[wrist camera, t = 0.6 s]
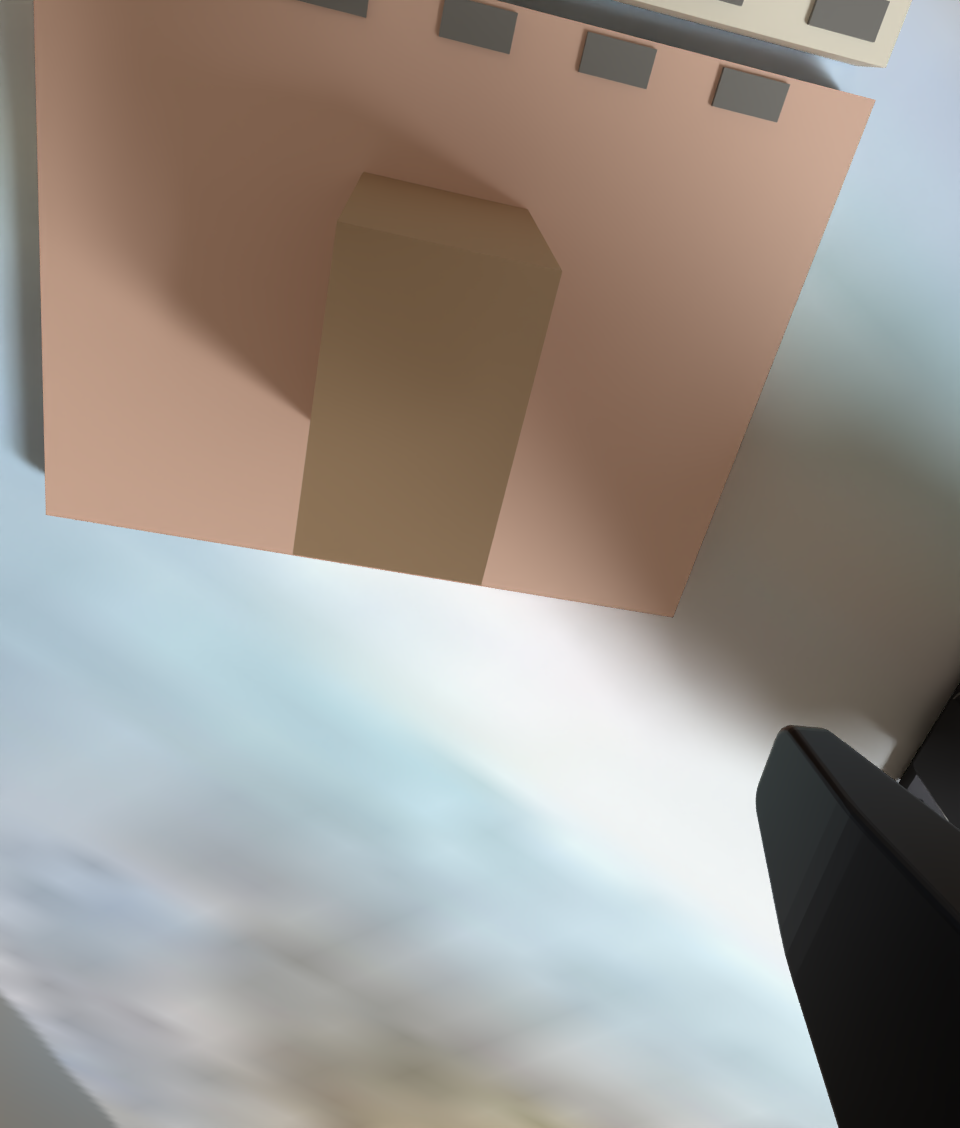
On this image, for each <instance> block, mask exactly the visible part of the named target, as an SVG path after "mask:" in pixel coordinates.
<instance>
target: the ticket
mask: <svg viewBox="0 0 960 1128" xmlns="http://www.w3.org/2000/svg"><path fill="white" fill-rule="evenodd" d="M613 1H617V2H621V3H624V4H628V5H632V6H636V7H639V8H643V9H647V10H650V11H654V12H658V13H662V14H665V15H669V16H673V17H676V18H680V19H684V20H688V21H691V22H695V23H699V24H702V25H706V26H710V27H714V28H717V29H721V30H725V31H729V32H732V33H736V34H740V35H743V36H747V37H751V38H755V39H758V40H762V41H766V42H769V43H773V44H777V45H781V46H784V47H788V48H792V49H795V50H799V51H803V52H807V53H810V54H814V55H818V56H822V57H825V58H829V59H833V60H836V61H840V62H844V63H848V64H851V65H855V66H864V67H880V68H886V66H887V63H888V61H889V58H890V55H891V53H892V50H893V48H894V45H895V43H896V40H897V37H898V35H899V32H900V30H901V27H902V25H903V22H904V20H905V17H906V14H907V12H908V9H909V7H910V4H911V2H912V0H613Z"/></svg>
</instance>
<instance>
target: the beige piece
mask: <svg viewBox="0 0 960 1128" xmlns="http://www.w3.org/2000/svg"><path fill="white" fill-rule="evenodd" d="M33 1H34V42H35V83H36V124H37V166H38V207H39V248H40V289H41V331H42V372H43V413H44V454H45V495H46V515H50V516H56V517H63V518H69V519H75V520H81V521H87V522H93V523H99V524H105V525H111V526H117V527H124V528H130V529H136V530H142V531H148V532H154V533H160V534H166V535H172V536H179V537H185V538H191V539H197V540H203V541H209V542H215V543H221V544H227V545H233V546H240V547H246V548H252V549H258V550H264V551H270V552H276V553H282V554H288V555H295V556H301V557H307V558H313V559H319V560H325V561H331V562H337V563H343V564H350V565H356V566H362V567H368V568H374V569H380V570H386V571H392V572H398V573H404V574H411V575H417V576H423V577H429V578H435V579H441V580H447V581H453V582H459V583H466V584H472V585H478V586H484V587H490V588H496V589H502V590H508V591H514V592H520V593H527V594H533V595H539V596H545V597H551V598H557V599H563V600H569V601H575V602H582V603H588V604H594V605H600V606H606V607H612V608H618V609H624V610H630V611H636V612H643V613H649V614H655V615H661V616H667V617H673V616H674V614H675V611H676V608H677V606H678V603H679V601H680V598H681V596H682V593H683V591H684V588H685V586H686V583H687V580H688V578H689V575H690V573H691V570H692V568H693V565H694V563H695V560H696V557H697V555H698V552H699V550H700V547H701V545H702V542H703V540H704V537H705V534H706V532H707V529H708V527H709V524H710V522H711V519H712V517H713V514H714V511H715V509H716V506H717V504H718V501H719V499H720V496H721V494H722V491H723V488H724V486H725V483H726V481H727V478H728V476H729V473H730V471H731V468H732V466H733V463H734V460H735V458H736V455H737V453H738V450H739V448H740V445H741V443H742V440H743V437H744V435H745V432H746V430H747V427H748V425H749V422H750V420H751V417H752V414H753V412H754V409H755V407H756V404H757V402H758V399H759V397H760V394H761V391H762V389H763V386H764V384H765V381H766V379H767V376H768V374H769V371H770V369H771V366H772V363H773V361H774V358H775V356H776V353H777V351H778V348H779V346H780V343H781V340H782V338H783V335H784V333H785V330H786V328H787V325H788V323H789V320H790V317H791V315H792V312H793V310H794V307H795V305H796V302H797V300H798V297H799V294H800V292H801V289H802V287H803V284H804V282H805V279H806V277H807V274H808V271H809V269H810V266H811V264H812V261H813V259H814V256H815V254H816V251H817V249H818V246H819V243H820V241H821V238H822V236H823V233H824V231H825V228H826V226H827V223H828V220H829V218H830V215H831V213H832V210H833V208H834V205H835V203H836V200H837V197H838V195H839V192H840V190H841V187H842V185H843V182H844V180H845V177H846V174H847V172H848V169H849V167H850V164H851V162H852V159H853V157H854V154H855V151H856V149H857V146H858V144H859V141H860V139H861V136H862V134H863V131H864V129H865V126H866V123H867V121H868V118H869V116H870V113H871V111H872V108H873V106H874V103H875V100H873V99H869V98H866V97H862V96H858V95H854V94H850V93H847V92H843V91H839V90H835V89H832V88H828V87H824V86H820V85H816V84H813V83H809V82H805V81H801V80H797V79H794V78H790V77H786V76H782V75H778V74H775V73H771V72H767V71H763V70H759V69H756V68H752V67H748V66H744V65H740V64H737V63H733V62H729V61H725V60H721V59H718V58H714V57H710V56H706V55H703V54H699V53H695V52H691V51H687V50H684V49H680V48H676V47H672V46H668V45H665V44H661V43H657V42H653V41H649V40H646V39H642V38H638V37H634V36H630V35H627V34H623V33H619V32H615V31H611V30H608V29H604V28H600V27H596V26H592V25H589V24H585V23H581V22H577V21H573V20H570V19H566V18H562V17H558V16H555V15H551V14H547V13H543V12H539V11H536V10H532V9H528V8H524V7H520V6H517V5H513V4H509V3H505V2H501V1H498V0H33Z"/></svg>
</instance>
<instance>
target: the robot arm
mask: <svg viewBox="0 0 960 1128" xmlns="http://www.w3.org/2000/svg"><path fill="white" fill-rule="evenodd" d="M756 812H757V817H758V822H759V827H760V832H761V838H762V843H763V848H764V853H765V858H766V863H767V868H768V873H769V878H770V883H771V888H772V893H773V899H774V904H775V909H776V914H777V919H778V924H779V929H780V934H781V938H782V943H783V947H784V951H785V956H786V959H787V963H788V966H789V970H790V973H791V977H792V980H793V984H794V987H795V990H796V993H797V996H798V1000H799V1003H800V1006H801V1009H802V1012H803V1016H804V1019H805V1022H806V1025H807V1028H808V1032H809V1035H810V1038H811V1041H812V1044H813V1048H814V1051H815V1054H816V1057H817V1060H818V1064H819V1067H820V1070H821V1073H822V1076H823V1080H824V1083H825V1086H826V1089H827V1092H828V1096H829V1099H830V1102H831V1105H832V1108H833V1112H834V1115H835V1118H836V1121H837V1124H838V1128H960V683H959V685H958V686H957V688H956V690H955V691H954V693H953V695H952V696H951V698H950V700H949V701H948V703H947V705H946V706H945V708H944V709H943V711H942V713H941V714H940V716H939V718H938V719H937V721H936V723H935V724H934V726H933V728H932V729H931V731H930V732H929V734H928V736H927V737H926V739H925V741H924V742H923V744H922V746H921V747H920V749H919V750H918V752H917V754H916V755H915V757H914V759H913V760H912V762H911V764H910V765H909V767H908V769H907V770H906V772H905V773H904V775H903V777H902V778H901V780H900V782H899V783H897V782H896V781H895V780H893V779H892V778H891V777H889V776H888V775H887V774H886V773H884V772H883V771H882V770H880V769H879V768H878V767H876V766H875V765H874V764H872V763H871V762H870V761H868V760H867V759H866V758H864V757H863V756H862V755H861V754H859V753H858V752H857V751H855V750H854V749H853V748H851V747H850V746H849V745H847V744H846V743H845V742H843V741H842V740H841V739H839V738H838V737H837V736H835V735H834V734H833V733H831V732H830V731H828V730H826V729H824V728H819V727H806V726H794V725H789V726H786V727H784V728H782V729H781V730H780V732H779V733H778V735H777V737H776V739H775V741H774V744H773V747H772V749H771V752H770V755H769V757H768V760H767V763H766V765H765V768H764V771H763V773H762V776H761V779H760V781H759V784H758V787H757V792H756Z"/></svg>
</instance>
